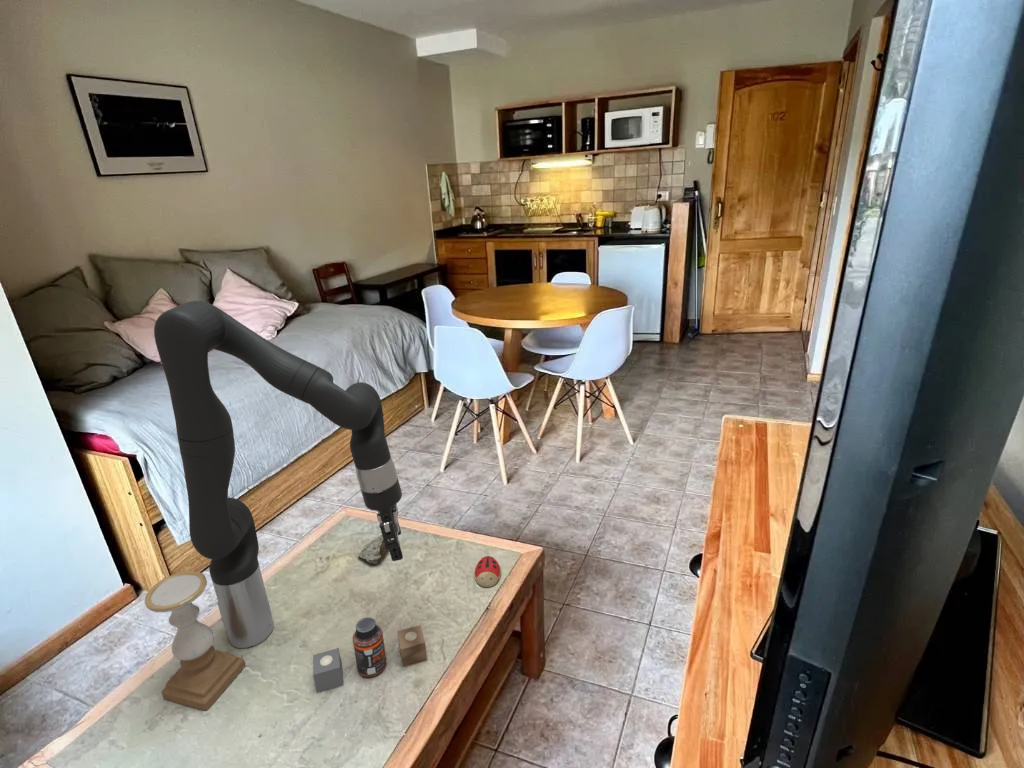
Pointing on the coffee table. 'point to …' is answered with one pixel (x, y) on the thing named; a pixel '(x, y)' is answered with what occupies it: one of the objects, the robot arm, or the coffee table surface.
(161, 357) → the robot arm
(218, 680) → the candle holder
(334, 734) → the coffee table surface
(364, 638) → the supplement bottle
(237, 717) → the coffee table surface
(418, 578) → the coffee table surface
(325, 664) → the charcoal dotted block
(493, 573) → the ladybug figurine
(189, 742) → the coffee table surface
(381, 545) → the rock sample
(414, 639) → the walnut dotted block
